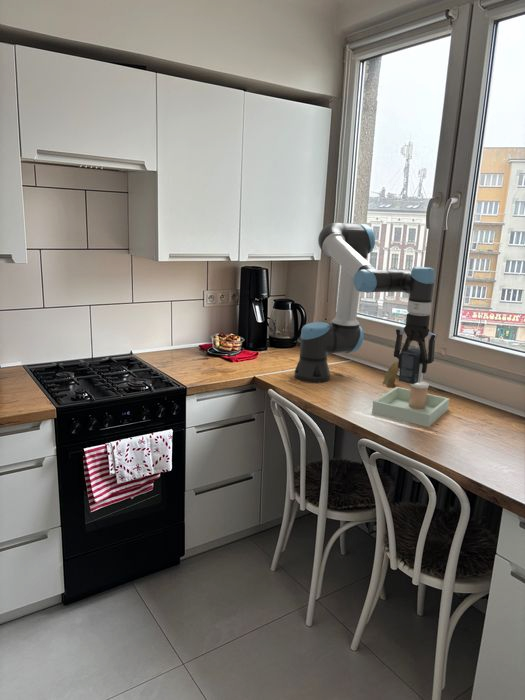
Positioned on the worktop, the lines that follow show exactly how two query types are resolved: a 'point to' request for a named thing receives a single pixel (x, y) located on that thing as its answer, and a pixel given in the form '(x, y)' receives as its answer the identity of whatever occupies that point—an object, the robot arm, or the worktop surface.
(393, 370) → the rock
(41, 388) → the worktop surface
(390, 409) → the tray
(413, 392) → the jar
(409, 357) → the box
